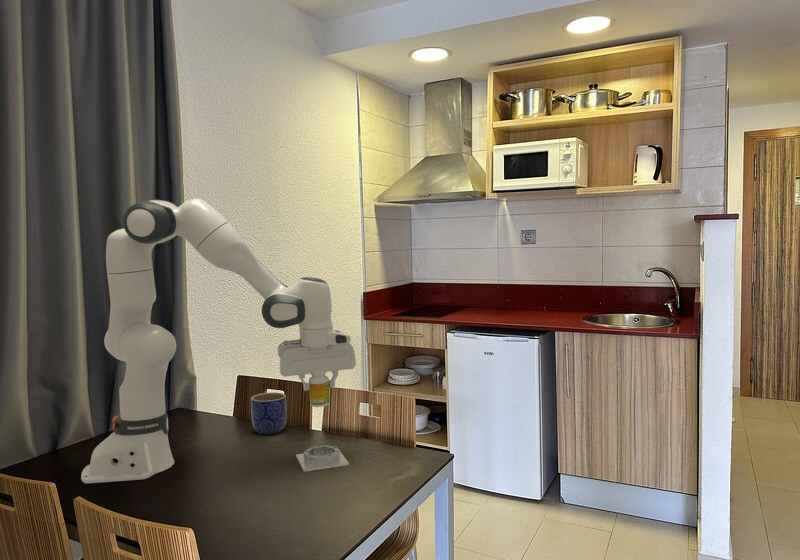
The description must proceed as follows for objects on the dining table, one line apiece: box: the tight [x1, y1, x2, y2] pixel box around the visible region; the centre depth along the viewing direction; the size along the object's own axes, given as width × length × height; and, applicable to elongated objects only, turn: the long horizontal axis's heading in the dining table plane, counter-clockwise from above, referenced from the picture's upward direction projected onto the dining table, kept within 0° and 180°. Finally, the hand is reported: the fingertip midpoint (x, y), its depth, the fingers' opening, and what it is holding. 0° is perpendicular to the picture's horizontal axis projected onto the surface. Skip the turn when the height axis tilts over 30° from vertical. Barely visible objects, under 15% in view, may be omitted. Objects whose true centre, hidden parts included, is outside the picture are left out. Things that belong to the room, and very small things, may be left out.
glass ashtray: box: [295, 444, 350, 473], centre depth 164 cm, size 12×12×3 cm
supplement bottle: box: [308, 371, 331, 408], centre depth 162 cm, size 5×5×10 cm
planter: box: [250, 392, 288, 436], centre depth 190 cm, size 11×11×11 cm
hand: (319, 388), depth 162 cm, fingers closed on supplement bottle, 5 cm apart
